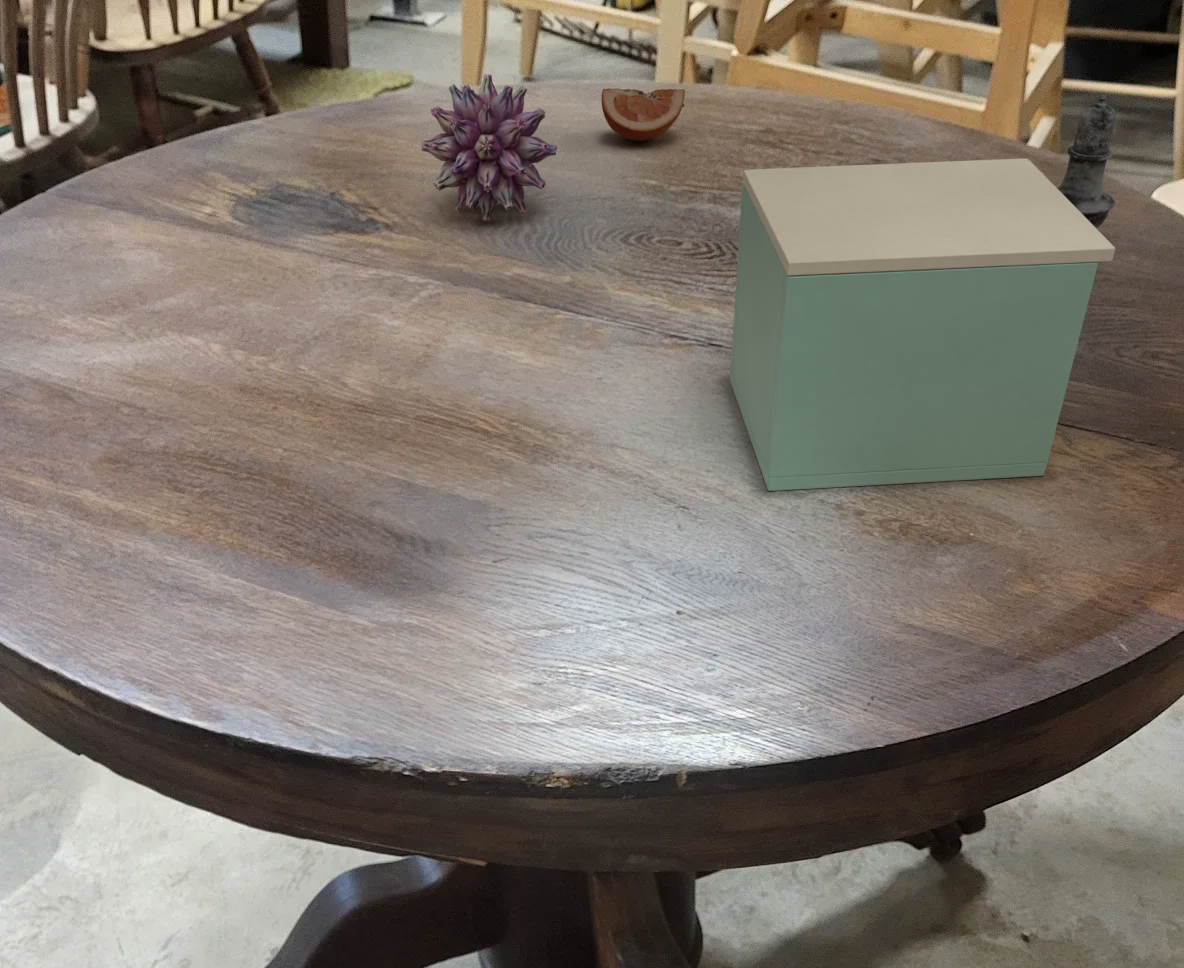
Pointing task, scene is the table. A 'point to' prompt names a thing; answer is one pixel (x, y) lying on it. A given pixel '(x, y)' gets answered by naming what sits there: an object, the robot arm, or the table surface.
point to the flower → (488, 147)
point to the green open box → (901, 367)
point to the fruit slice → (641, 111)
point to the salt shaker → (1090, 162)
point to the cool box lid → (920, 217)
